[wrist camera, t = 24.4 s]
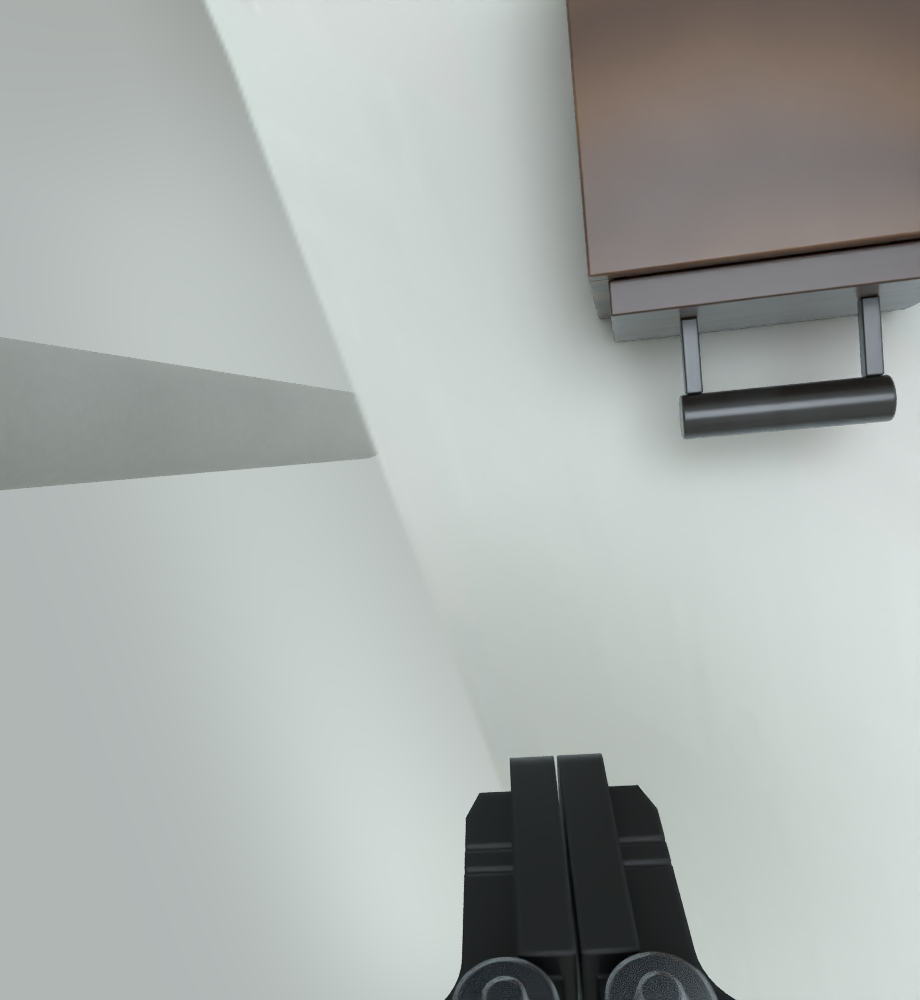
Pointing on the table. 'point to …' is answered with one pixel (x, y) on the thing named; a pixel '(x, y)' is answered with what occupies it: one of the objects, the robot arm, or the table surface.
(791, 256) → the drawer
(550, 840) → the robot arm
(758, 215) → the cabinet
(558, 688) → the table surface
